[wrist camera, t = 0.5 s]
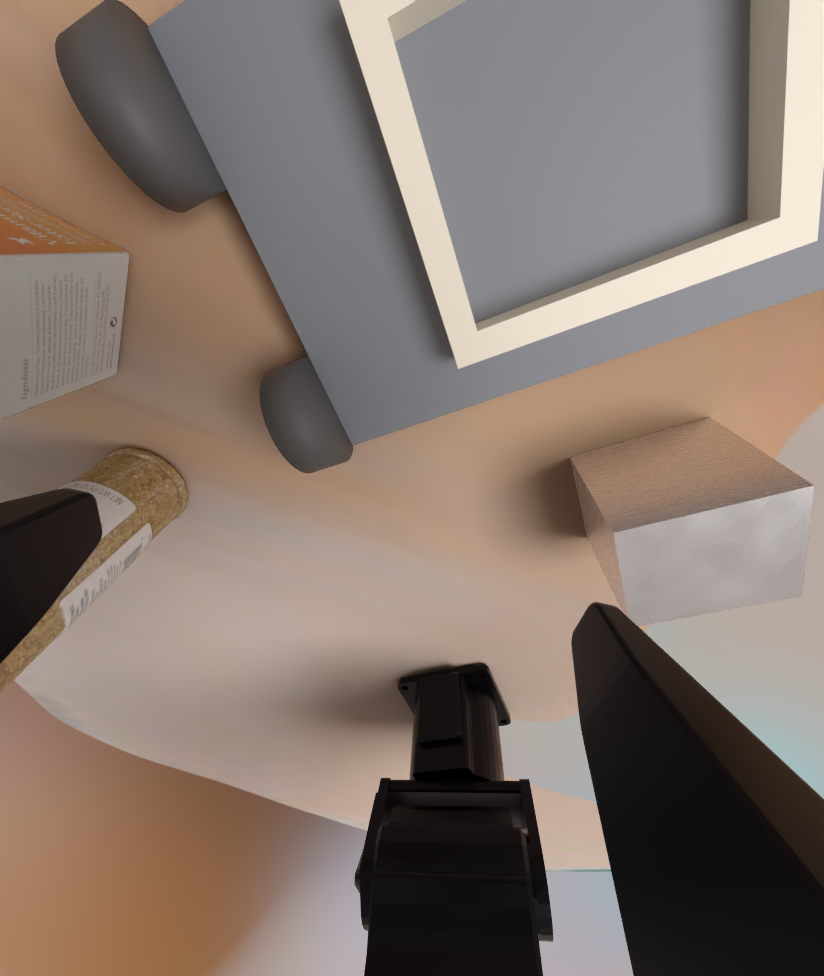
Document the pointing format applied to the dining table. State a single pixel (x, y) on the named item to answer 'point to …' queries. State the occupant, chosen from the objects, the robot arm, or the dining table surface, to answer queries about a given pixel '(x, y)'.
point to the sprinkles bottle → (108, 539)
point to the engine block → (693, 522)
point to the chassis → (473, 179)
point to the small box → (55, 306)
